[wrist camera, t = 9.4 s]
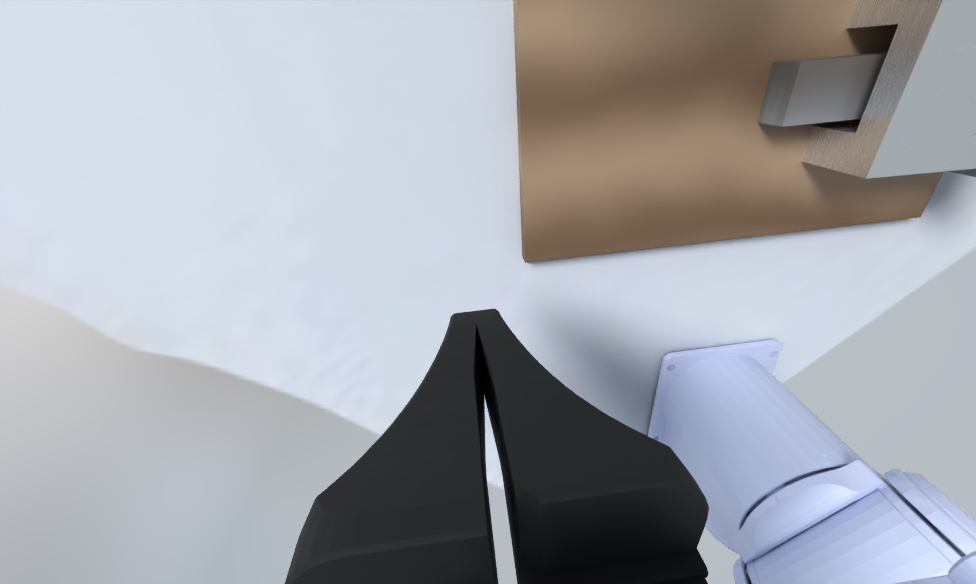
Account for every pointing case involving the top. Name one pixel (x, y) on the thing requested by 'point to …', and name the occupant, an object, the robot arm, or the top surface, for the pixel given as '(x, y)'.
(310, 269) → the top surface
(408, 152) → the top surface
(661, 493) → the robot arm
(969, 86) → the block
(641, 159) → the slide rail board
